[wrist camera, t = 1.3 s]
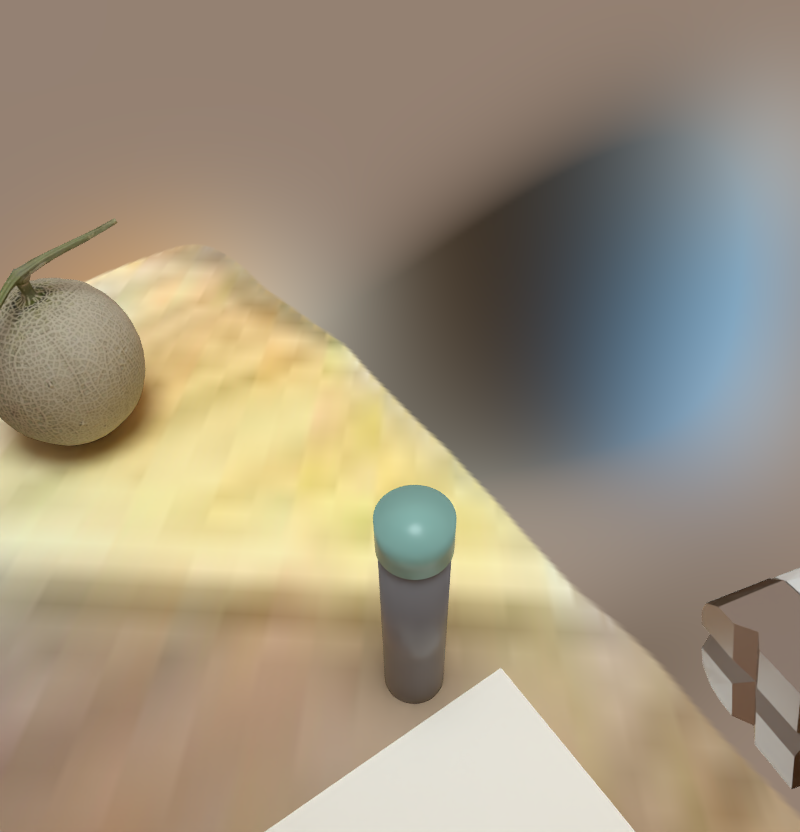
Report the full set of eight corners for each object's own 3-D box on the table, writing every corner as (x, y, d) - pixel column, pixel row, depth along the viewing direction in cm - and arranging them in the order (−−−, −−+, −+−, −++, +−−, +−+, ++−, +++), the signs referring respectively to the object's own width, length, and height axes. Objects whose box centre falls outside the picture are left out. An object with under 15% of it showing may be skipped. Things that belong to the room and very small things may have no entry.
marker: (371, 666, 40) (357, 508, 30) (421, 635, 41) (424, 473, 31) (405, 718, 38) (403, 566, 28) (457, 682, 39) (473, 525, 29)
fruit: (-26, 468, 50) (-140, 290, 40) (70, 365, 58) (-5, 193, 48) (106, 499, 48) (21, 319, 38) (187, 387, 56) (135, 213, 46)
